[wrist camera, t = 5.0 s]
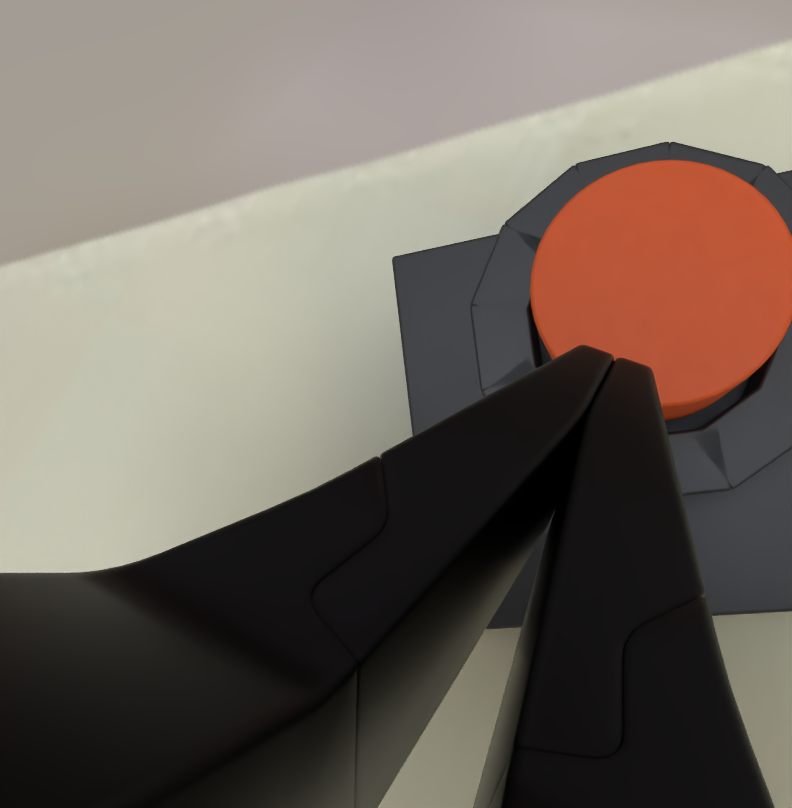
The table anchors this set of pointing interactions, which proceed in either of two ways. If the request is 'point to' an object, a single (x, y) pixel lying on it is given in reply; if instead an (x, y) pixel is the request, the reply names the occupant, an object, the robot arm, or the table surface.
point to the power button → (668, 278)
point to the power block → (689, 436)
